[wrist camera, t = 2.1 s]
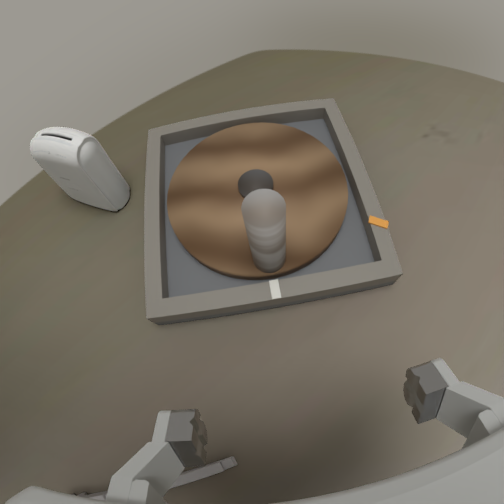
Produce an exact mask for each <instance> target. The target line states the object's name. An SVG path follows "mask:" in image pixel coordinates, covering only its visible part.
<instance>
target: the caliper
mask: <svg viewBox="0 0 504 504" xmlns="http://www.w3.org/2000/svg"><path fill="white" fill-rule="evenodd" d="M235 465H237V462H236V460H235V458H234V456H231V457H228V458H225V459H223V460H219V461H216V462H213V463H210V464H207V465H206V466H201V467H198V468H195V469H192V470H189V471H186V472H182V473H181V474H180V475H179V477H178V478H177V479H176V481H175V482H174V483H173V484H172V486H171V487H170V488H173V487H177V486H180V485H183V484H187V483H190V482H193V481H196V480H199V479H202V478H205V477H208V476H211V475H214V474H217V473H220V472H222V471H224V470H225V469H228V468H231V467H233V466H235ZM170 488H169V489H170ZM107 492H108V491H104V492H97V493H93V494H89V495H87V493H86V492H83V493H81V494H79V495H77V496H80V497H86V498H91V499H97V500H103V501H105V500H106V496H107ZM71 495H75V494H71Z"/></svg>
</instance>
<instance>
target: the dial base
mask: <svg viewBox="0 0 504 504" xmlns="http://www.w3.org/2000/svg"><path fill="white" fill-rule="evenodd" d="M261 122H265V123H276V124H282V125H287V126H290V127H294V128H296V129H299V130H301V131H304V132H306V133H308V134H310V135H311V136H313V137H315V138H316V139H317V140H319V141H320V142H322V143H323V144H324V145H325V146H326V147H327V148H328V149H329V150H330V151H331V152H332V153H333V154H334V156H335V157H336V159H337V160H338V162H339V163H340V165H341V167H342V169H343V172H344V174H345V178H346V181H347V187H348V204H347V209H346V214H345V217H344V220H343V223H342V226H341V228H340V231H339V233H338V234H337V236H336V238H335V240H334V241H333V242H332V244H331V245H330V246H329V248H328V249H327V250H326V251H325V252H324V253H323V254H322V255H321V256H320V257H319V258H317V259H316V260H315V261H313V262H312V263H311V264H309V265H307V266H306V267H304V268H302V269H300V270H298V271H296V272H293V273H291V274H288V275H285V276H281V277H277V278H273V279H264V280H244V279H238V278H232V277H229V276H225V275H222V274H219V273H217V272H215V271H212V270H210V269H209V268H207V267H205V266H204V265H202V264H201V263H199V262H198V261H197V260H196V259H195V258H193V257H192V256H191V255H190V254H189V253H188V251H187V250H186V249H185V248H184V246H183V245H182V243H181V242H180V240H179V239H178V237H177V236H176V234H175V233H174V230H173V228H172V226H171V224H170V220H169V216H168V210H167V194H168V189H169V184H170V181H171V179H172V176H173V174H174V172H175V170H176V168H177V166H178V165H179V163H180V162H181V161H182V159H183V158H184V157H185V156H186V155H187V153H188V152H189V151H190V150H191V149H192V148H194V147H195V146H196V145H197V144H198V143H200V142H201V141H203V140H204V139H205V138H207V137H209V136H211V135H212V134H214V133H216V132H219V131H221V130H223V129H226V128H229V127H232V126H236V125H241V124H247V123H261ZM388 223H389V221H386V220H385V218H384V215H383V212H382V209H381V207H380V204H379V201H378V199H377V196H376V193H375V191H374V188H373V186H372V183H371V181H370V178H369V176H368V173H367V171H366V168H365V166H364V164H363V161H362V159H361V156H360V154H359V152H358V149H357V147H356V145H355V143H354V140H353V138H352V136H351V134H350V132H349V129H348V127H347V125H346V123H345V121H344V119H343V117H342V114H341V112H340V110H339V108H338V106H337V104H336V102H335V100H334V98H330V99H319V100H308V101H299V102H290V103H282V104H275V105H268V106H261V107H254V108H248V109H242V110H236V111H231V112H225V113H220V114H215V115H210V116H205V117H200V118H195V119H191V120H186V121H182V122H177V123H173V124H169V125H165V126H161V127H157V128H153V129H149V130H148V143H147V158H146V177H145V207H144V269H145V299H146V318H147V319H148V320H150V321H152V322H154V323H156V324H157V325H164V324H172V323H179V322H187V321H194V320H201V319H208V318H215V317H221V316H228V315H234V314H241V313H247V312H253V311H259V310H265V309H271V308H277V307H282V306H288V305H293V304H299V303H304V302H310V301H315V300H320V299H325V298H330V297H335V296H340V295H345V294H350V293H355V292H360V291H364V290H369V289H374V288H378V287H383V286H387V285H392V284H393V283H394V282H395V281H396V280H397V279H398V278H399V277H400V276H401V275H402V274H403V273H402V269H401V266H400V263H399V260H398V256H397V253H396V250H395V247H394V244H393V241H392V238H391V235H390V232H389V229H388Z"/></svg>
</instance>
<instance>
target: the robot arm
mask: <svg viewBox="0 0 504 504" xmlns="http://www.w3.org/2000/svg"><path fill="white" fill-rule="evenodd" d="M406 377H407V381H406V382H405V383H404V388H403V391H404V397H405V400H406V402H407V404H408V405H409V406H411V407H413V410H412V414H413V416H414V418H415V420H416V421H417V423H418V424H419V423H422V422H425V421H428V420H431V419H434V418H436V419H437V420H439V421H441V422H442V423H444V424H445V425H447V426H448V427H450V428H452V429H453V430H455V431H456V432H458V433H460V434H461V435H463V436H464V437H466V438H467V440H466V442H465V444H464V445H463V447H462V449H461V450H459V451H457V452H454V453H452V454H450V455H448V456H445V457H443V458H441V459H438V460H436V461H434V462H431V463H429V464H426V465H424V466H421V467H418V468H416V469H413V470H410V471H407V472H405V473H402V474H399V475H396V476H393V477H390V478H387V479H383V480H380V481H377V482H373V483H370V484H366V485H363V486H359V487H355V488H351V489H347V490H343V491H339V492H335V493H330V494H325V495H320V496H315V497H310V498H304V499H299V500H292V501H286V502H278V503H270V504H504V398H503V397H501V396H498V395H496V394H493V393H491V392H488V391H486V390H483V389H481V388H478V387H476V386H473V385H471V384H468V383H466V382H464V381H462V382H459V380H458V379H457V378H456V376H455V375H454V373H453V372H452V371H451V369H450V368H449V367H448V365H447V364H446V363H445V361H444V360H443V359H442V358H438V359H435V360H432V361H430V362H426V363H423V364H420V365H417V366H414V367H411V368H408V369H407V371H406ZM206 444H207V430H206V426H205V424H204V422H203V421H201V420H200V413H199V411H198V409H189V410H165V411H160V412H159V413H158V415H157V420H156V424H155V429H154V433H153V437H152V442H148V443H147V444H146V445H145V446H144V447H143V448H142V449H140V450H139V451H138V452H137V453H136V454H135V455H134V456H133V457H132V458H131V459H130V460H129V461H128V462H127V463H126V464H125V465H123V466H122V467H121V468H120V469H119V470H118V471H117V472H116V473H115V474H114V475H113V476H112V477H111V481H110V484H109V488H108V492H107V496H106V500H105V501H103V500H97V499H91V498H86V497H80V496H76V495H71V494H66V493H62V492H58V491H54V490H50V489H46V488H43V487H39V486H29V487H27V488H25V489H24V490H22V491H21V492H19V493H17V494H16V495H15V496H13V497H12V498H10V499H9V500H7V501H6V502H5V504H168V503H167V502H166V501H165V500H164V499H163V498H162V497H163V496H164V495H165V494H166V492H167V491H168V490H169V488H170V487H171V486H172V484H173V483H174V482H175V481H176V479H177V478H178V477H179V475H180V474H181V473H182V471H183V470H184V469H185V467H193V466H206V450H205V449H204V446H205V445H206Z"/></svg>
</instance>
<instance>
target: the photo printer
mask: <svg viewBox="0 0 504 504" xmlns="http://www.w3.org/2000/svg"><path fill="white" fill-rule="evenodd" d="M30 152H31V155H32V156H33V158H34V159H35V160H36V161H37V162H38V164H39V165H40V166H41V167H42V168H43V169H44V170H45V171H46V172H47V174H48V175H49V176H50V177H51V178H52V179H53V180H54V181H55V182H56V183H57V184H58V185H59V186H60V187H61V188H62V189H63V190H64V191H65V192H66V193H67V194H68V195H69V196H70V197H71V198H73V199H75V200H77V201H80V202H83V203H85V204H88V205H91V206H94V207H98V208H102V209H105V210H109V211H118V209H121V208H123V207H124V206H125V204H126V203H127V202H128V200H129V197H130V192H129V190H130V187H129V185H128V184H127V182H126V181H125V179H124V178H123V177H122V175H121V174H120V172H119V171H118V169H117V168H116V167H115V165H114V164H113V162H112V161H111V159H110V158H109V156H108V155H107V154H106V152H105V150H104V149H103V148H102V146H101V145H100V143H99V142H98V140H97V139H96V138H94V137H93V136H91V135H90V134H88V133H85V132H82V131H80V130H76V129H72V128H68V127H49V128H45V129H43V130H41V131H39V132H37V133H36V135H35V137H34V138H33V139H32V140H31V143H30Z"/></svg>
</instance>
